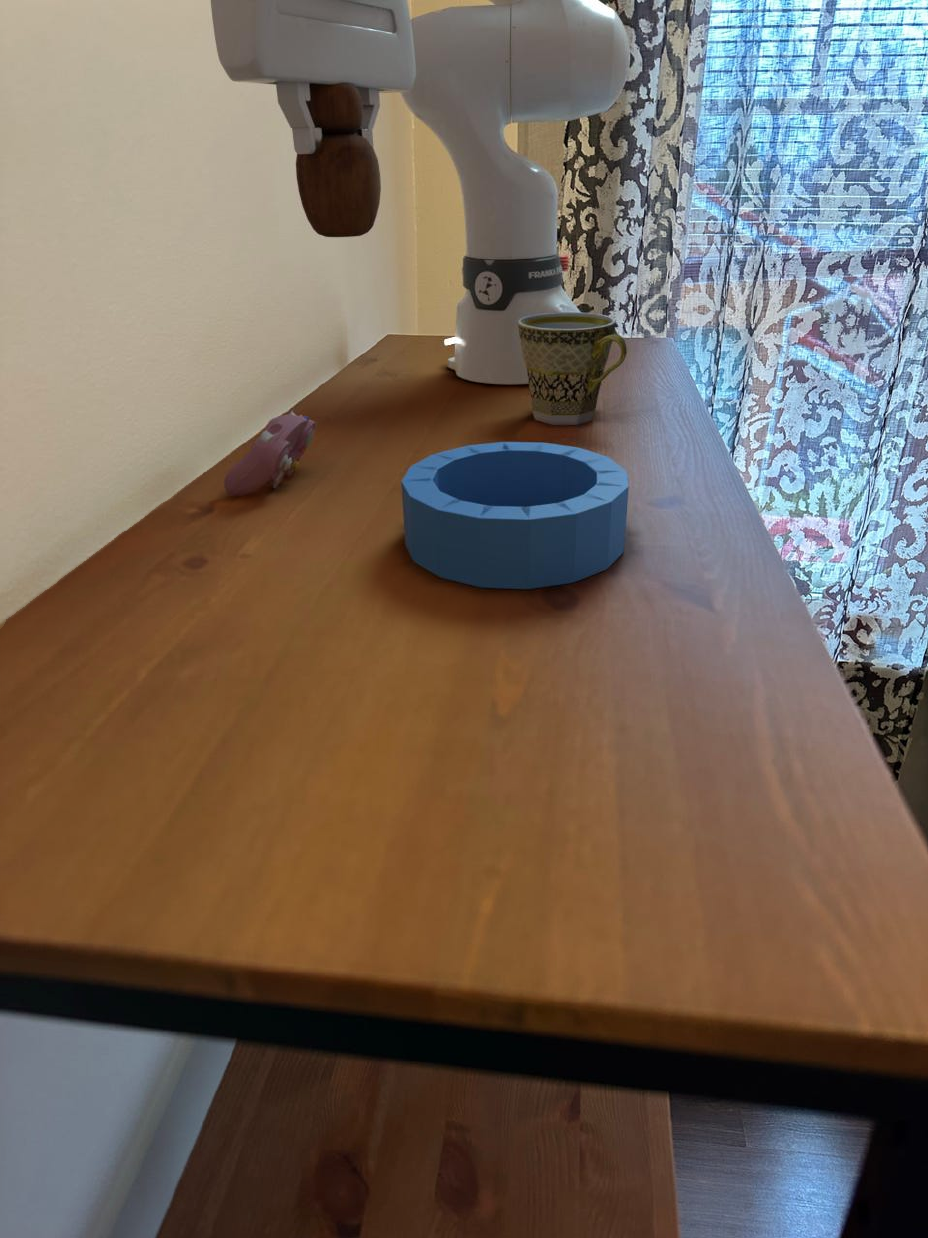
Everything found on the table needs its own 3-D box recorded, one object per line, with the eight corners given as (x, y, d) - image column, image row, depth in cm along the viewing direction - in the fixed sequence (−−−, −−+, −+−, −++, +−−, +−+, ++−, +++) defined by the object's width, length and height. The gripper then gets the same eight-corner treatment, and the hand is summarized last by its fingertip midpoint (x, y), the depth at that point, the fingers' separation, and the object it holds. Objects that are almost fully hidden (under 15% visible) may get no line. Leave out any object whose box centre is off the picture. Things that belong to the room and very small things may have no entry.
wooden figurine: (292, 238, 70) (266, 21, 63) (324, 233, 75) (304, 30, 67) (364, 238, 68) (346, 13, 61) (393, 232, 72) (379, 23, 65)
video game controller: (265, 517, 71) (290, 447, 67) (217, 492, 71) (239, 421, 67) (306, 478, 79) (331, 414, 76) (263, 455, 79) (286, 390, 75)
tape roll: (475, 488, 71) (473, 431, 69) (653, 521, 64) (659, 459, 62) (364, 559, 60) (358, 493, 57) (568, 609, 52) (571, 536, 50)
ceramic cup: (498, 416, 91) (498, 320, 86) (562, 399, 96) (565, 308, 91) (586, 442, 82) (591, 337, 77) (651, 422, 87) (659, 322, 82)
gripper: (367, -33, 71) (379, 153, 77) (182, -81, 55) (217, 155, 62) (429, -43, 68) (436, 151, 74) (251, -97, 53) (280, 153, 59)
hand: (335, 153), depth 68 cm, fingers closed on wooden figurine, 5 cm apart
